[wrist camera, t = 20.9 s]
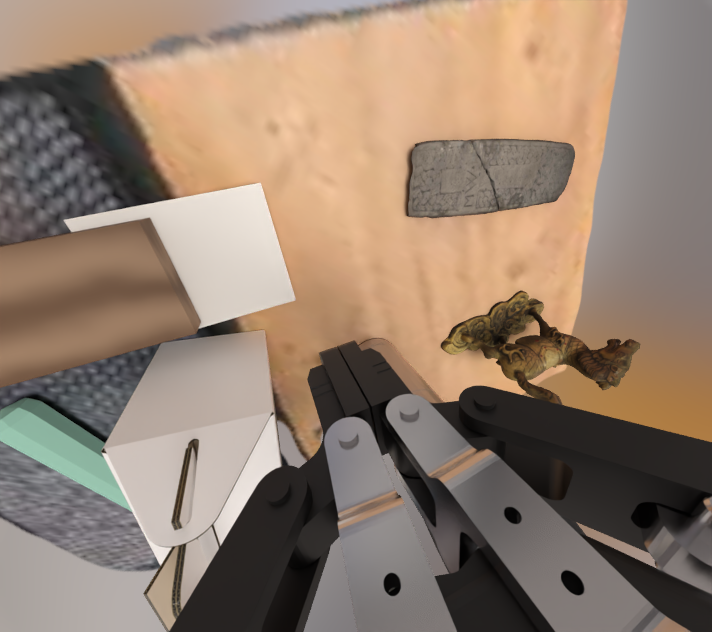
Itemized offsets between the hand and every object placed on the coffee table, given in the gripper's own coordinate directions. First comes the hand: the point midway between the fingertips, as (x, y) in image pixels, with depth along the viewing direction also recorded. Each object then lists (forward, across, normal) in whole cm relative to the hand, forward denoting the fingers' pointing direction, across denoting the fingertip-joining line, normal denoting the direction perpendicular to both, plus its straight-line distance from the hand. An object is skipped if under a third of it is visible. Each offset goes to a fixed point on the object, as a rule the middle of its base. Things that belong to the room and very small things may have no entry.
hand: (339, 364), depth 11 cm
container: (+30, +32, +23) cm, 49 cm away
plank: (+25, +21, 0) cm, 33 cm away
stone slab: (+30, -34, -2) cm, 45 cm away
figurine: (+29, -37, +27) cm, 54 cm away
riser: (+29, +9, 0) cm, 30 cm away
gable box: (+29, +14, +21) cm, 39 cm away
